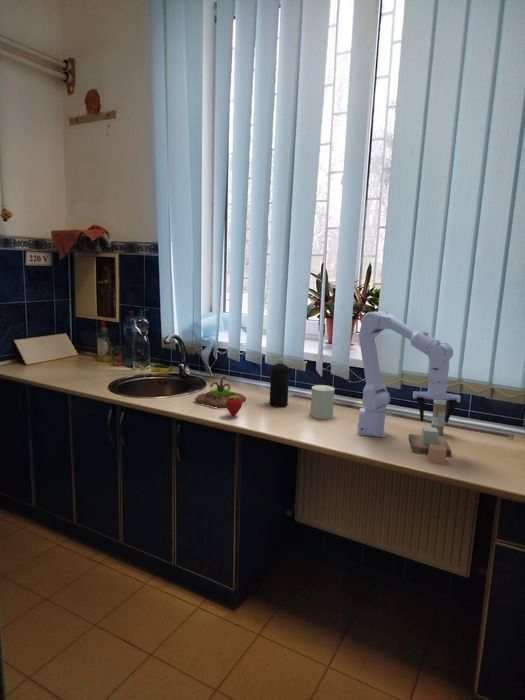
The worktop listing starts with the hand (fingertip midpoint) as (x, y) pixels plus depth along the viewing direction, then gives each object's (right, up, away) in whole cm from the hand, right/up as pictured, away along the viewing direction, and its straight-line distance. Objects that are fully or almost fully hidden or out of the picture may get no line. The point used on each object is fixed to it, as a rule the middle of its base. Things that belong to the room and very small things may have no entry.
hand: (433, 420), depth 157 cm
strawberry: (-68, -3, +29) cm, 73 cm away
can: (-33, -3, +34) cm, 47 cm away
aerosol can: (-50, 0, +46) cm, 68 cm away
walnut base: (0, -10, +4) cm, 11 cm away
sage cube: (0, -8, +4) cm, 9 cm away
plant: (-74, +1, +48) cm, 88 cm away
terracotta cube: (-1, -12, -6) cm, 13 cm away
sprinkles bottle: (+8, -8, +19) cm, 22 cm away
